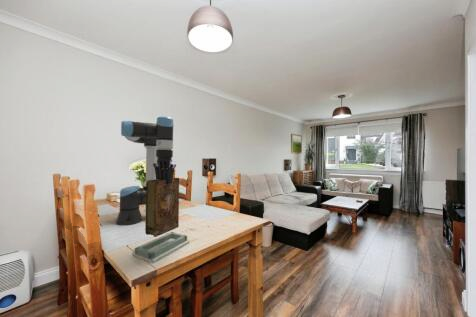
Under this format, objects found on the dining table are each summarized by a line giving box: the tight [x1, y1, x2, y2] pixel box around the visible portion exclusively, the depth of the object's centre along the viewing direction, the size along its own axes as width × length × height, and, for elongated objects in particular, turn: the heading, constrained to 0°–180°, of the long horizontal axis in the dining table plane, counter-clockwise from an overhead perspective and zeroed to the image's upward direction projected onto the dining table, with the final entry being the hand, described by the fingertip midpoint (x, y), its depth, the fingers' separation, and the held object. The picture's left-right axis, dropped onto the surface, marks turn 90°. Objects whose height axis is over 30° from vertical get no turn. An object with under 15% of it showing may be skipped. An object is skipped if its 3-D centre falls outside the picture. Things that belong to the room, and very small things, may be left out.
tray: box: [131, 231, 190, 264], centre depth 95 cm, size 14×22×3 cm, turn 153°
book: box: [144, 177, 180, 238], centre depth 95 cm, size 16×6×25 cm, turn 154°
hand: (163, 198), depth 95 cm, fingers closed
